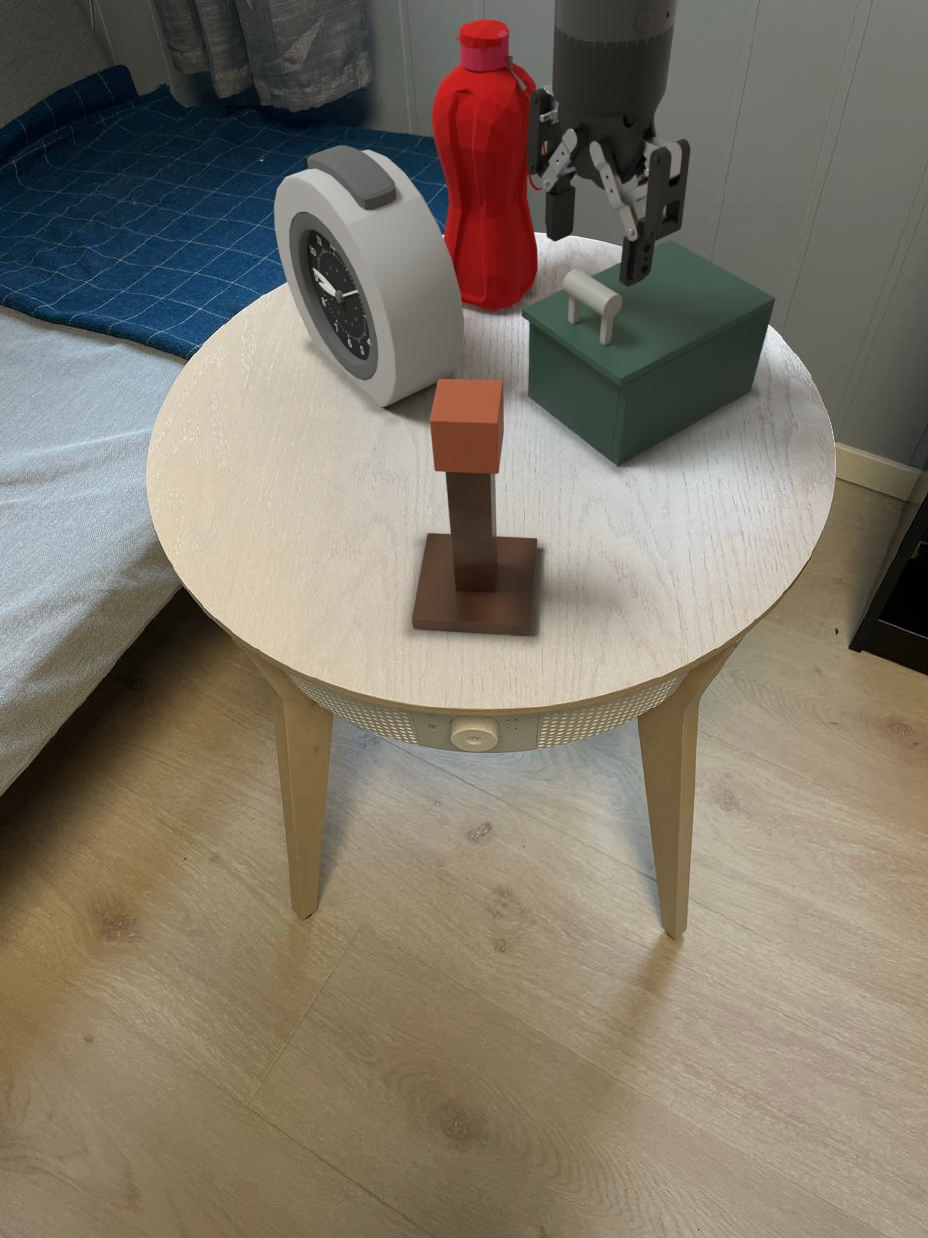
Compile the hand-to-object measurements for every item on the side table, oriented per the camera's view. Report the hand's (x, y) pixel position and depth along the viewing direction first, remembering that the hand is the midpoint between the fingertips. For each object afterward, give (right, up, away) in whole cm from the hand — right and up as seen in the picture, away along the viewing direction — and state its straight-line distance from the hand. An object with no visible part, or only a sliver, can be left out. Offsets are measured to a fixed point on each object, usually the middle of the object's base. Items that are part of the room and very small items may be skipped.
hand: (594, 258), depth 66 cm
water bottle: (-6, +8, +27) cm, 29 cm away
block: (-10, -17, -10) cm, 22 cm away
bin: (+7, -7, +15) cm, 18 cm away
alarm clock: (-19, -2, +20) cm, 28 cm away
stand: (-9, -25, +1) cm, 27 cm away
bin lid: (+6, -1, +8) cm, 10 cm away
